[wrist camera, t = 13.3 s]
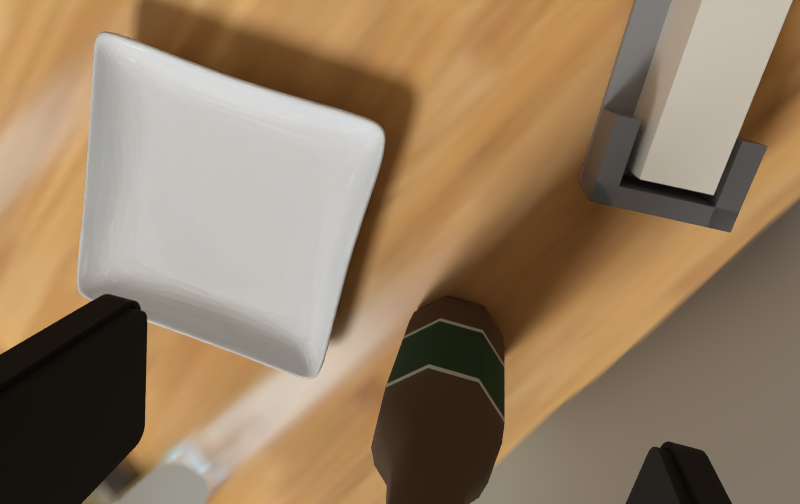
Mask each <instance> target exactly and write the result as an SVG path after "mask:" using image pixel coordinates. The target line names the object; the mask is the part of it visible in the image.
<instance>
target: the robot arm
mask: <svg viewBox="0 0 800 504" xmlns="http://www.w3.org/2000/svg"><path fill="white" fill-rule="evenodd" d="M146 353H147V315H146V313H145V312H144V311H142V310H141V307H140V305H139V303H138V302H137V301H134V300H130V299H127V298H123V297H119V296H115V295H111V294H104V295H101V296H100V297H98V298H96V299H95V300H93V301H91V302H89V303H88V304H86V305H84V306H83V307H81V308H79V309H77V310H76V311H74V312H72V313H71V314H69V315H67V316H65V317H64V318H62V319H60V320H59V321H57V322H55V323H54V324H52V325H50V326H48V327H47V328H45V329H43V330H42V331H40V332H38V333H36V334H35V335H33V336H31V337H30V338H28V339H26V340H25V341H23V342H21V343H19V344H18V345H16V346H14V347H13V348H11V349H9V350H7V351H6V352H4V353H2V354H1V355H0V504H81V503H82V502H83V501H84V500H85V499H86V498H87V497H88V496H89V495H90V494H91V493H92V492H93V491H94V490H95V489H96V488H97V487H98V486H99V485H100V483H101V482H102V481H103V480H104V479H105V478H106V477H107V476H108V475H109V474H110V473H111V472H112V471H113V470H114V469H115V468H116V467H117V466H118V465H119V463H120V462H121V461H122V460H123V459H124V458H125V457H126V456H127V455H128V454H129V453H130V452H131V451H132V450H133V449H134V448H135V447H136V445H137V444H138V443H139V441H140V439H141V437H142V435H143V432H144V427H145V395H146ZM626 504H732V503H731V501H730V499H729V497H728V495H727V493H726V492H725V489H724V488H723V486H722V484H721V482H720V480H719V478H718V476H717V474H716V472H715V470H714V468H713V466H712V464H711V462H710V460H709V458H708V456H707V455H706V454H705V452H704V451H702V450H699V449H695V448H691V447H687V446H684V445H680V444H676V443H673V442H665V443H664V444H663V445H662V446H661V448H658V447H652V448H651V449H650V450H649V452H648V454H647V456H646V459H645V461H644V463H643V466H642V468H641V470H640V472H639V475H638V477H637V479H636V481H635V484H634V486H633V488H632V491H631V493H630V495H629V497H628V500H627V502H626Z"/></svg>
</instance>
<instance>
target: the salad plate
mask: <svg viewBox="0 0 800 504" xmlns="http://www.w3.org/2000/svg"><path fill="white" fill-rule="evenodd" d="M385 143H386V136H385V131H384V129H383V128H382V126H381V125H380V124H379V123H377V122H376V121H374V120H371V119H369V118H366V117H364V116H361V115H358V114H355V113H352V112H349V111H346V110H343V109H339V108H336V107H332V106H329V105H325V104H321V103H318V102H314V101H311V100H307V99H304V98H300V97H297V96H293V95H290V94H286V93H283V92H280V91H276V90H273V89H270V88H267V87H264V86H260V85H257V84H254V83H251V82H248V81H245V80H242V79H239V78H236V77H233V76H230V75H227V74H224V73H221V72H219V71H216V70H213V69H211V68H208V67H205V66H203V65H200V64H197V63H194V62H192V61H189V60H187V59H184V58H181V57H179V56H176V55H173V54H171V53H168V52H166V51H163V50H161V49H158V48H156V47H153V46H150V45H147V44H145V43H142V42H140V41H137V40H134V39H132V38H129V37H126V36H123V35H119V34H116V33H112V32H101V33H99V35H98V36H97V38H96V40H95V47H94V58H93V71H92V89H91V105H90V122H89V137H88V153H87V166H86V182H85V196H84V207H83V217H82V227H81V236H80V245H79V256H78V269H77V288H78V291H79V292H80V294H81V295H82V296H84V297H86V298H88V299H90V300H92V301H93V300H95V299H96V298H98V297H100V296H101V295H104V294H111V295H115V296H119V297H123V298H127V299H130V300H134V301H137V302H138V303H139V305H140V307H141V310H142V311H144V312H145V313H146V315H147V322H150V323H153V324H155V325H158V326H161V327H164V328H167V329H169V330H172V331H175V332H178V333H181V334H184V335H186V336H189V337H192V338H195V339H197V340H200V341H203V342H206V343H208V344H211V345H214V346H217V347H219V348H222V349H225V350H228V351H230V352H233V353H236V354H238V355H241V356H243V357H246V358H248V359H251V360H254V361H256V362H259V363H262V364H264V365H267V366H269V367H272V368H275V369H277V370H280V371H283V372H286V373H288V374H291V375H294V376H297V377H301V378H304V379H312V378H314V377H316V376H317V375H318V374H319V372H320V370H321V368H322V365H323V362H324V359H325V356H326V352H327V349H328V345H329V341H330V336H331V332H332V328H333V324H334V320H335V316H336V312H337V308H338V304H339V301H340V297H341V293H342V289H343V285H344V282H345V278H346V274H347V270H348V267H349V263H350V260H351V257H352V253H353V250H354V247H355V243H356V240H357V237H358V233H359V231H360V228H361V224H362V221H363V218H364V215H365V212H366V209H367V206H368V203H369V200H370V197H371V194H372V191H373V188H374V185H375V182H376V179H377V177H378V174H379V170H380V167H381V163H382V159H383V155H384V150H385Z"/></svg>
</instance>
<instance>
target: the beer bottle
mask: <svg viewBox="0 0 800 504" xmlns="http://www.w3.org/2000/svg"><path fill="white" fill-rule="evenodd" d="M503 430H504V341H503V336H502V335H501V333H500V331H499V330H498V328H497V327H496V325H495V323H494V322H493V320H492V318H491V317H490V315H489V314H488V312H487V310H486V309H485V307H484V306H482V305H478V304H474V303H471V302H467V301H463V300H460V299H456V298H452V297H449V296H445V297H443V298H441V299H439V300H437V301H435V302H433V303H431V304H429V305H427V306H425V307H423V308H421V309H419V310H417V311H415V312H414V314H413V316H412V317H411V319H410V321H409V324H408V327H407V330H406V332H405V335H404V338H403V341H402V344H401V346H400V349H399V352H398V355H397V357H396V360H395V363H394V366H393V368H392V371H391V374H390V377H389V380H388V382H387V385H386V388H385V392H384V396H383V400H382V404H381V408H380V412H379V416H378V420H377V425H376V429H375V433H374V437H373V442H372V446H371V448H372V454H373V459H374V465H375V467H376V468H377V470H378V472H379V473H380V475H381V477H382V478H383V480H384V481H385V483H386V485H387V494H386V504H470V503H471V502H473V501H474V500H475V499H477V498H479V496H480V495H481V493H482V491H483V490H484V488H485V486H486V485H487V483H488V481H489V478H490V475H491V472H492V470H493V467H494V464H495V461H496V458H497V455H498V453H499V450H500V447H501V444H502V438H503Z"/></svg>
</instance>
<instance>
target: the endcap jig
mask: <svg viewBox="0 0 800 504" xmlns="http://www.w3.org/2000/svg"><path fill="white" fill-rule="evenodd" d="M671 1H672V0H634V3H633V6H632V10H631V13H630V16H629V19H628V22H627V26H626V29H625V32H624V35H623V38H622V42H621V45H620V48H619V51H618V55H617V58H616V61H615V64H614V67H613V71H612V74H611V77H610V80H609V83H608V87H607V90H606V93H605V96H604V99H603V103H602V106H601V109H600V112H599V116H598V119H597V122H596V125H595V128H594V132H593V135H592V138H591V141H590V144H589V148H588V151H587V154H586V157H585V161H584V164H583V167H582V170H581V173H580V177H579V180H578V182H579V184H580V185H581V187H582V189H583V190H584V192H585V194H586V195H587V197H588V199H589V200H590V201H592V202H596V203H601V204H605V205H610V206H614V207H619V208H623V209H628V210H632V211H637V212H641V213H646V214H650V215H655V216H659V217H664V218H668V219H673V220H677V221H681V222H686V223H690V224H695V225H699V226H704V227H708V228H713V229H717V230H722V231H726V232H731V230H732V228H733V225H734V223H735V221H736V218H737V216H738V214H739V211H740V209H741V207H742V204H743V202H744V200H745V197H746V195H747V193H748V190H749V188H750V186H751V183H752V181H753V179H754V176H755V174H756V172H757V169H758V167H759V165H760V162H761V160H762V158H763V155H764V153H765V151H766V148H767V146H765V145H762V144H759V143H756V142H753V141H750V140H747V139H744V138H741V137H738V136H737V139H736V141H735V144H734V146H733V149H732V151H731V154H730V156H729V159H728V161H727V164H726V166H725V169H724V171H723V173H722V176H721V178H720V181H719V183H718V186H717V188H716V191H715V193H714V195H710V194H706V193H701V192H696V191H692V190H687V189H682V188H678V187H673V186H669V185H664V184H659V183H655V182H650V181H645V180H641V179H639V178H638V177H636V176H635V175H634V174H633V173H632V172H631V171H630V170H628V169H627V168H626V165H627V162H628V159H629V156H630V153H631V150H632V147H633V144H634V141H635V138H636V135H637V132H638V129H639V126H640V123H641V121H642V120H640V119H638V118H635V117H633V115H634V112H635V109H636V106H637V103H638V100H639V97H640V94H641V91H642V88H643V85H644V82H645V79H646V76H647V73H648V70H649V67H650V64H651V61H652V58H653V55H654V52H655V49H656V46H657V43H658V40H659V37H660V34H661V31H662V28H663V25H664V22H665V19H666V16H667V13H668V10H669V7H670V4H671Z"/></svg>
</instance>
